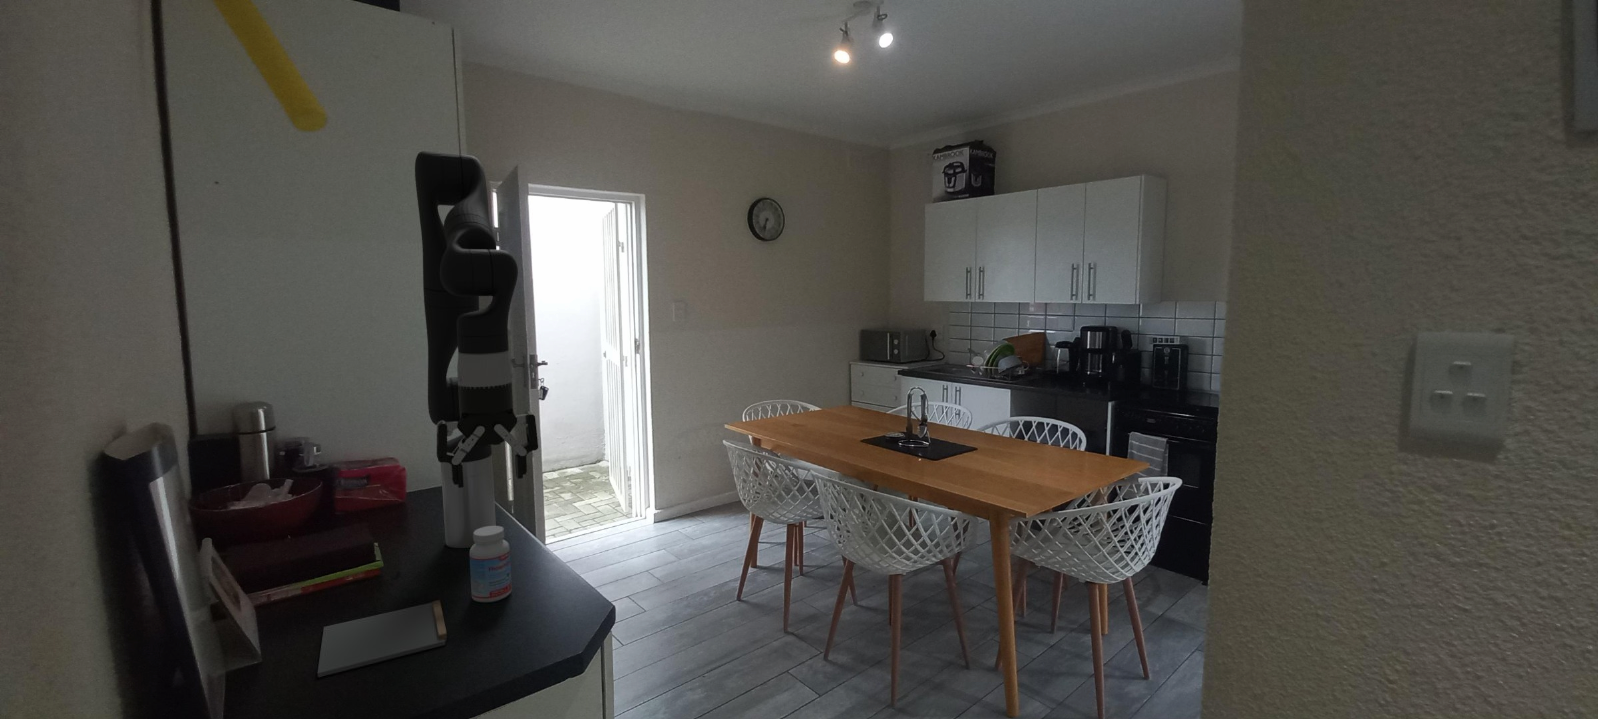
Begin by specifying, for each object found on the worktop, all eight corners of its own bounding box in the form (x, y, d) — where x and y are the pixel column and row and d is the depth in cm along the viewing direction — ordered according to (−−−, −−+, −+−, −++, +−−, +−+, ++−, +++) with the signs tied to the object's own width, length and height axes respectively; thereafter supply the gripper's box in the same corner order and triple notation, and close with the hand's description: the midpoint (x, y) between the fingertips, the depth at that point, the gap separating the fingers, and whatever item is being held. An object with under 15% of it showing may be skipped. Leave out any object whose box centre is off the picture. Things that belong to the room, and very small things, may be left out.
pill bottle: (496, 605, 108) (493, 538, 107) (463, 601, 109) (459, 536, 108) (519, 588, 114) (516, 525, 113) (487, 585, 115) (484, 522, 114)
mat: (324, 630, 100) (323, 626, 100) (437, 604, 108) (437, 601, 108) (317, 677, 88) (317, 673, 88) (445, 644, 96) (445, 640, 96)
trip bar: (433, 608, 107) (432, 601, 107) (440, 607, 108) (439, 599, 107) (439, 643, 97) (438, 635, 97) (447, 641, 97) (446, 633, 97)
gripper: (529, 373, 110) (533, 468, 112) (430, 380, 102) (437, 482, 105) (539, 380, 104) (543, 481, 106) (434, 388, 96) (441, 496, 98)
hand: (490, 481), depth 105 cm, fingers open, 8 cm apart
